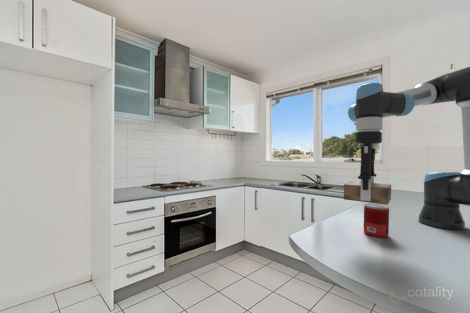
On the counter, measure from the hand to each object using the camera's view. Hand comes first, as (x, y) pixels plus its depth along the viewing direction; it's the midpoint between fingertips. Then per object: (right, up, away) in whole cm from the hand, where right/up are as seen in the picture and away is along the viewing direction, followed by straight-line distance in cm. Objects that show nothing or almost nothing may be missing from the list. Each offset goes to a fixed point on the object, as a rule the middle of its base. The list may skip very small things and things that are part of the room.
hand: (367, 197), depth 74 cm
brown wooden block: (0, -1, 0) cm, 1 cm away
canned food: (+9, -16, +10) cm, 21 cm away
